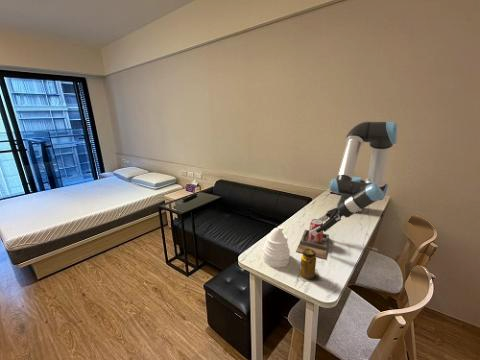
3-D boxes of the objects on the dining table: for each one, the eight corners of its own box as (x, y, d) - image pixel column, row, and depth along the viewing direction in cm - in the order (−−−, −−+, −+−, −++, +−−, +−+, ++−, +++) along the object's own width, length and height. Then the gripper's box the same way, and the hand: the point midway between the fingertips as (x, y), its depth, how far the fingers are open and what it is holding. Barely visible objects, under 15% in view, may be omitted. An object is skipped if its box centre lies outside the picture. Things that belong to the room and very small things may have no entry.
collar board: (304, 234, 131) (304, 229, 130) (329, 239, 125) (330, 234, 124) (296, 253, 114) (296, 247, 113) (324, 260, 108) (325, 254, 107)
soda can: (306, 238, 124) (307, 218, 121) (318, 237, 125) (320, 218, 121) (311, 245, 118) (313, 225, 114) (324, 244, 118) (326, 224, 115)
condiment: (297, 269, 101) (299, 246, 98) (316, 269, 101) (318, 246, 98) (301, 281, 94) (303, 257, 91) (322, 281, 94) (324, 257, 91)
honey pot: (294, 257, 110) (295, 224, 104) (280, 271, 100) (282, 236, 95) (271, 247, 118) (272, 217, 112) (257, 260, 108) (257, 227, 103)
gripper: (353, 224, 96) (314, 245, 108) (356, 203, 117) (323, 222, 129) (341, 211, 97) (304, 233, 109) (346, 192, 118) (314, 212, 130)
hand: (314, 227), depth 119 cm, fingers open, 13 cm apart
